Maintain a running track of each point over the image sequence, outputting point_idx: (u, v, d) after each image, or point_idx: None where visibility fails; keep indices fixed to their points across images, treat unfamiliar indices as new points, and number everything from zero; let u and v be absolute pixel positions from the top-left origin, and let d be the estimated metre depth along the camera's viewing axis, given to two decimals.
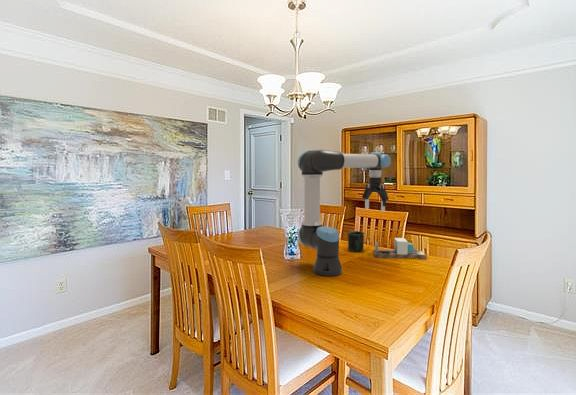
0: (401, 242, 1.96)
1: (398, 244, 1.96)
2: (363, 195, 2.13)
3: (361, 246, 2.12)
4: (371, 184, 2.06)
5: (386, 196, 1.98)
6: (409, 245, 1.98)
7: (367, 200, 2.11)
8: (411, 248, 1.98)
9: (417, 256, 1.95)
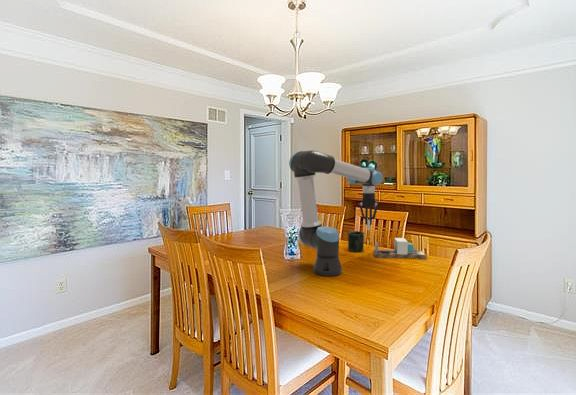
0: (401, 242, 1.96)
1: (398, 244, 1.96)
2: None
3: (361, 246, 2.12)
4: None
5: (362, 215, 2.03)
6: (409, 245, 1.98)
7: None
8: (411, 248, 1.98)
9: (417, 256, 1.95)
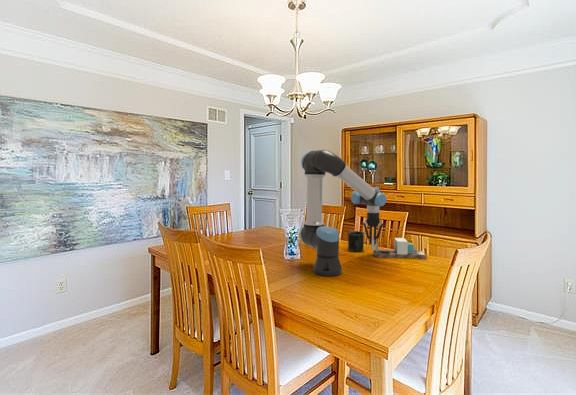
0: (401, 242, 1.96)
1: (398, 244, 1.96)
2: None
3: (361, 246, 2.12)
4: None
5: (366, 234, 2.03)
6: (409, 245, 1.98)
7: None
8: (411, 248, 1.98)
9: (417, 256, 1.95)
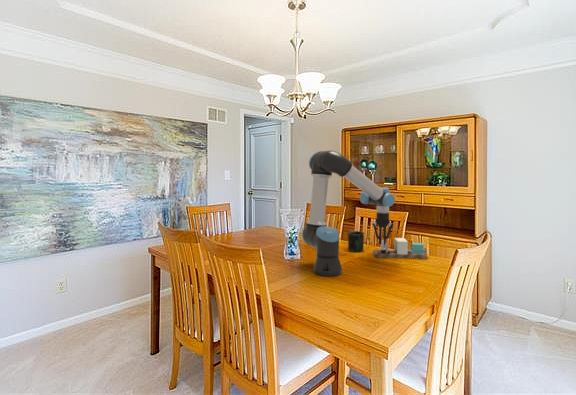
0: (401, 242, 1.96)
1: (398, 244, 1.96)
2: None
3: (361, 246, 2.12)
4: None
5: None
6: (419, 245, 1.97)
7: None
8: (421, 248, 1.97)
9: (417, 256, 1.95)
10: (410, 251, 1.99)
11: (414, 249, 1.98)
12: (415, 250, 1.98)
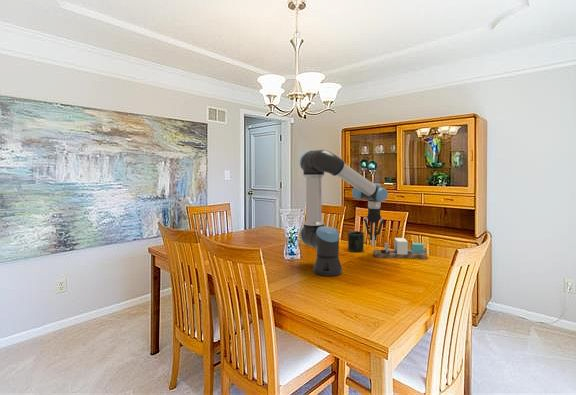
0: (401, 242, 1.96)
1: (398, 244, 1.96)
2: None
3: (361, 246, 2.12)
4: None
5: None
6: (419, 245, 1.97)
7: None
8: (421, 248, 1.97)
9: (417, 256, 1.95)
10: (410, 251, 1.99)
11: (414, 249, 1.98)
12: (415, 250, 1.98)
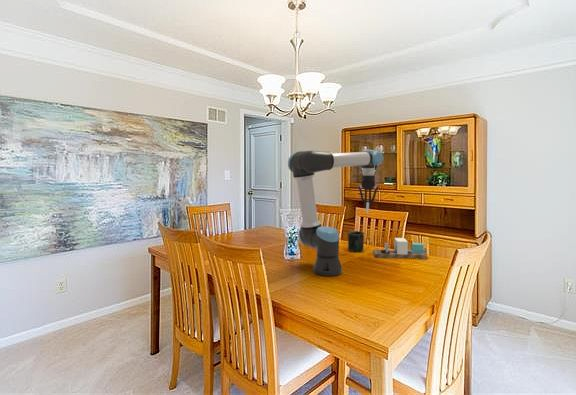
0: (401, 242, 1.96)
1: (398, 244, 1.96)
2: None
3: (361, 246, 2.12)
4: None
5: (361, 198, 2.02)
6: (419, 245, 1.97)
7: None
8: (421, 248, 1.97)
9: (417, 256, 1.95)
10: (410, 251, 1.99)
11: (414, 249, 1.98)
12: (415, 250, 1.98)
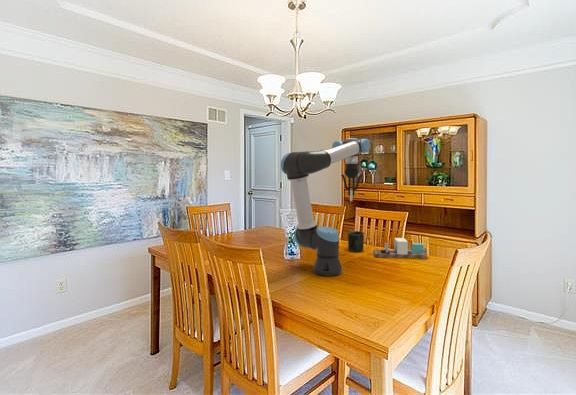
0: (401, 242, 1.96)
1: (398, 244, 1.96)
2: None
3: (361, 246, 2.12)
4: None
5: None
6: (419, 245, 1.97)
7: None
8: (421, 248, 1.97)
9: (417, 256, 1.95)
10: (410, 251, 1.99)
11: (414, 249, 1.98)
12: (415, 250, 1.98)
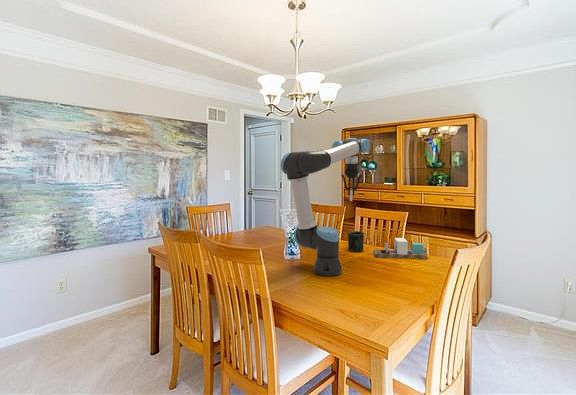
0: (401, 242, 1.96)
1: (398, 244, 1.96)
2: None
3: (361, 246, 2.12)
4: None
5: None
6: (419, 245, 1.97)
7: None
8: (421, 248, 1.97)
9: (417, 256, 1.95)
10: (410, 251, 1.99)
11: (414, 249, 1.98)
12: (415, 250, 1.98)
